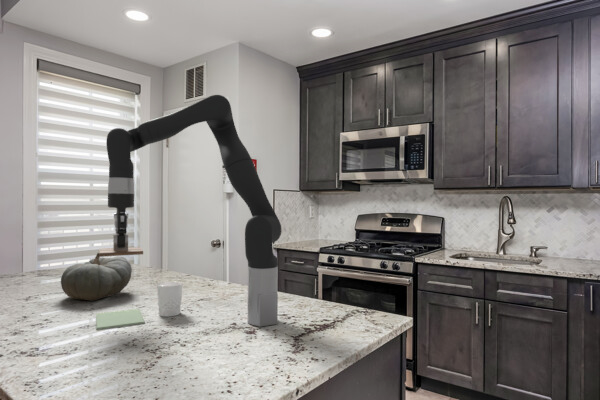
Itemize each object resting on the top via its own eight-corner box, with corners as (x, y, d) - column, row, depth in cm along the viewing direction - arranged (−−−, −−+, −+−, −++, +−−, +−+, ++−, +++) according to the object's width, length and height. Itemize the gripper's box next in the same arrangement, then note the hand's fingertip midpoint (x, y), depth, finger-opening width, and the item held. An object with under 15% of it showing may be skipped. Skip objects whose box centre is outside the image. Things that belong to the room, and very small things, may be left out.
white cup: (151, 315, 125) (152, 284, 125) (170, 309, 132) (170, 280, 132) (169, 318, 121) (169, 287, 121) (187, 312, 128) (187, 282, 128)
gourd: (146, 283, 161) (139, 243, 158) (112, 309, 137) (103, 263, 134) (92, 287, 164) (84, 248, 161) (49, 313, 139) (38, 268, 137)
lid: (143, 254, 118) (143, 234, 118) (99, 256, 112) (99, 236, 112) (139, 249, 128) (139, 232, 128) (98, 252, 123) (99, 233, 123)
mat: (144, 323, 116) (144, 321, 116) (96, 329, 110) (96, 327, 110) (139, 310, 130) (139, 308, 130) (96, 315, 124) (96, 313, 124)
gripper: (136, 192, 116) (135, 248, 116) (132, 193, 129) (131, 244, 128) (108, 191, 112) (108, 250, 112) (107, 192, 125) (106, 245, 125)
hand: (120, 246), depth 120 cm, fingers closed on lid, 4 cm apart
